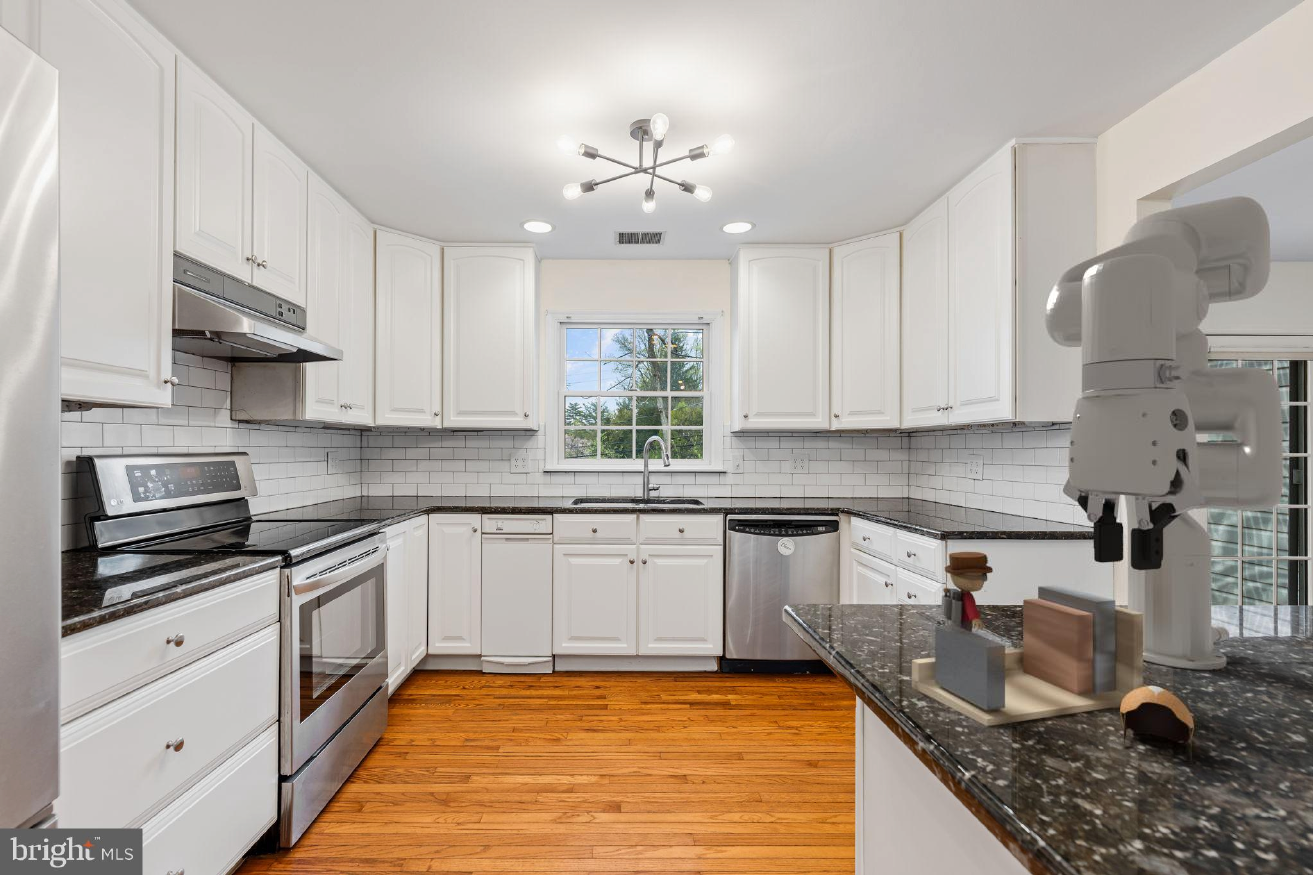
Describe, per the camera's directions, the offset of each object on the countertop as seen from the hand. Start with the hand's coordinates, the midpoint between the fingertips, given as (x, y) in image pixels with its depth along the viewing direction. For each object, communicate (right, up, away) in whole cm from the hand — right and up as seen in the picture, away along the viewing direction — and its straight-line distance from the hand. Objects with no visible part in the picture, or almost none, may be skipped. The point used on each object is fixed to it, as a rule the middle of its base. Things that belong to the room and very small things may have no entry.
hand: (1126, 563), depth 61 cm
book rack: (-3, -19, +14) cm, 24 cm away
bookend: (-11, -18, +10) cm, 23 cm away
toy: (-2, -20, +29) cm, 35 cm away
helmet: (+1, -20, -2) cm, 20 cm away
